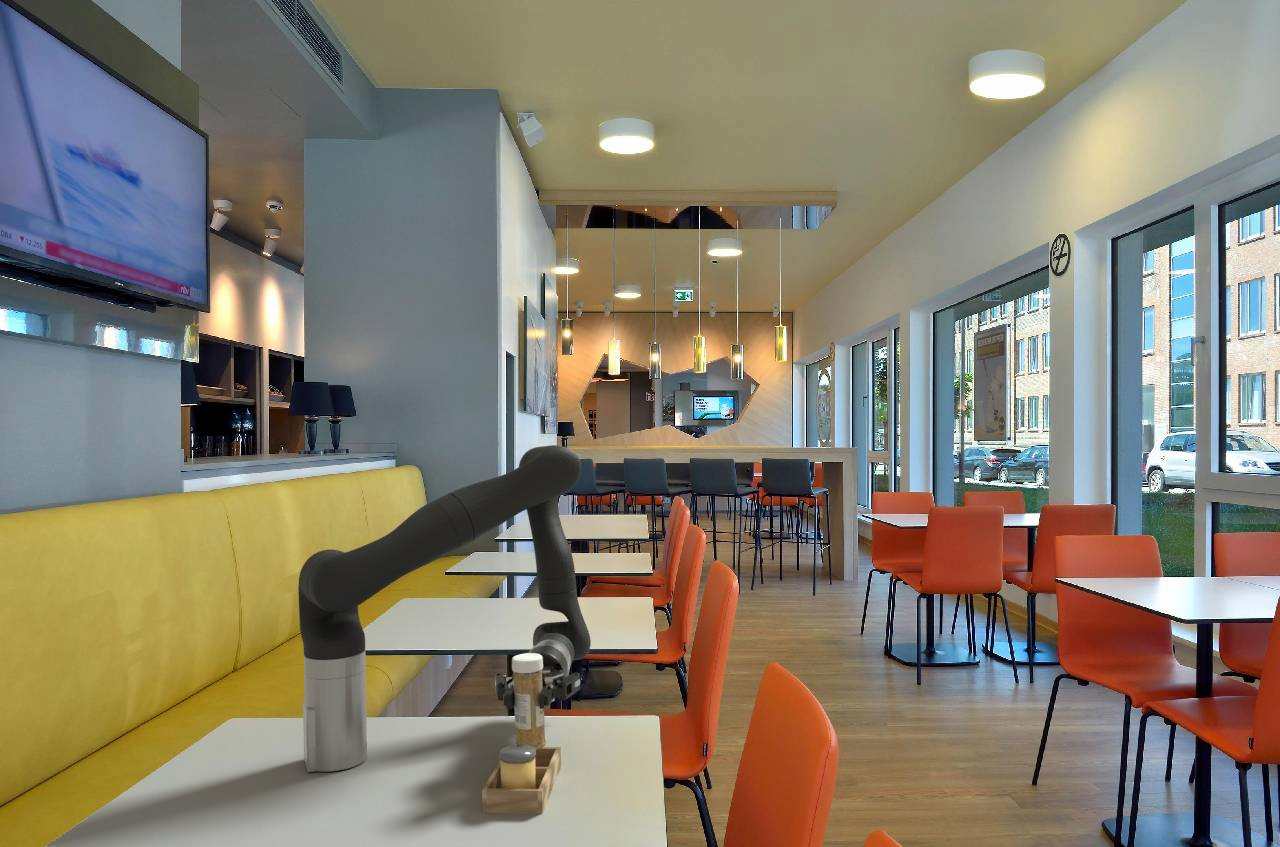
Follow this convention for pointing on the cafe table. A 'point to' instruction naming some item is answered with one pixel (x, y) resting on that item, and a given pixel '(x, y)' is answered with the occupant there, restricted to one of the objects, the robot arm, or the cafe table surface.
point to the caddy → (524, 798)
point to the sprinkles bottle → (528, 699)
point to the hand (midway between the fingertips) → (525, 702)
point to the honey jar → (518, 767)
